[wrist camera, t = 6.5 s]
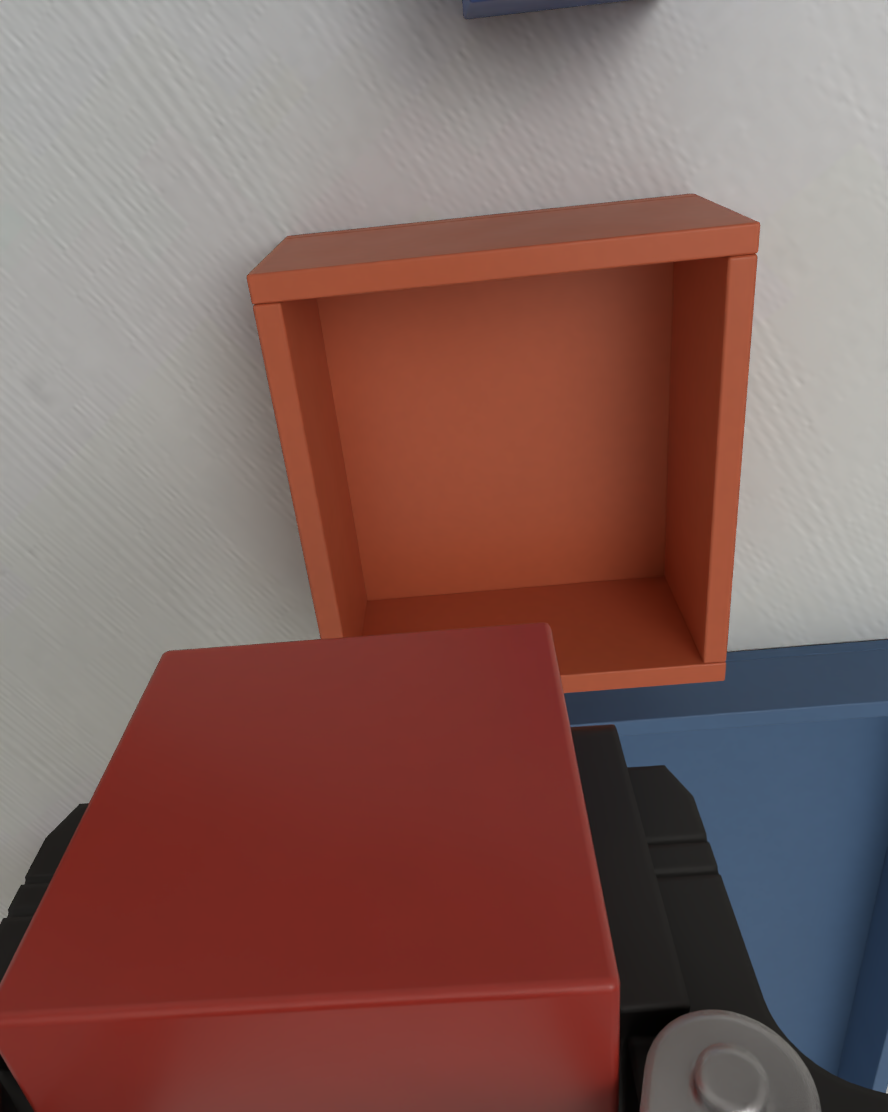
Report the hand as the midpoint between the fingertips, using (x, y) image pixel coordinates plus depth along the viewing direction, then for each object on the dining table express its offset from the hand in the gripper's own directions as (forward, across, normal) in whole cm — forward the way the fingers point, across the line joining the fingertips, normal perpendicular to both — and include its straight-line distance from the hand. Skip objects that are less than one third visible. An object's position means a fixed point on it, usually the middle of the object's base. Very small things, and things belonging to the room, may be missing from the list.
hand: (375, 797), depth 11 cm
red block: (0, 0, 0) cm, 0 cm away
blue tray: (+15, -10, +25) cm, 31 cm away
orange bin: (+15, -2, +1) cm, 15 cm away
